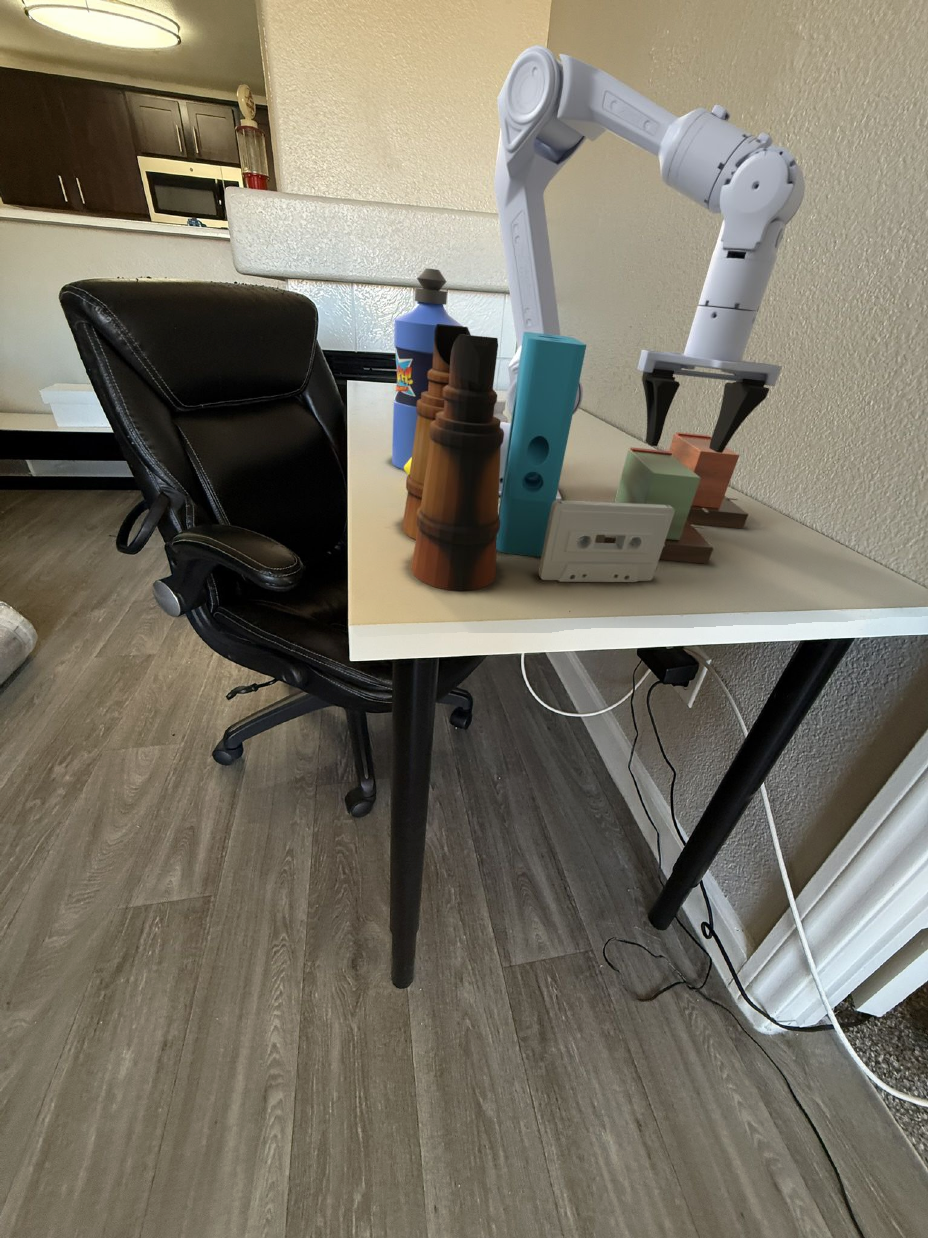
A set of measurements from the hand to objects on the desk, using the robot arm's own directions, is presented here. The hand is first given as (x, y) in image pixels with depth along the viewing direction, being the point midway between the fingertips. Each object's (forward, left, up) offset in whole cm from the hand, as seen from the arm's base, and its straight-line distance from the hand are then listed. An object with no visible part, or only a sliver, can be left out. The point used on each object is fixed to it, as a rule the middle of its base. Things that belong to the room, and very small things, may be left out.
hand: (683, 447), depth 59 cm
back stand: (+7, +10, -10) cm, 16 cm away
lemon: (-29, +7, -10) cm, 32 cm away
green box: (-3, -3, -8) cm, 9 cm away
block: (-18, -7, -10) cm, 22 cm away
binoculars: (-26, -11, -10) cm, 30 cm away
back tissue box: (+7, +10, -8) cm, 15 cm away
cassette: (-11, -15, -10) cm, 21 cm away
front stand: (-3, -3, -10) cm, 11 cm away
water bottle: (-31, +19, -10) cm, 38 cm away
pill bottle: (-21, +23, -10) cm, 33 cm away
